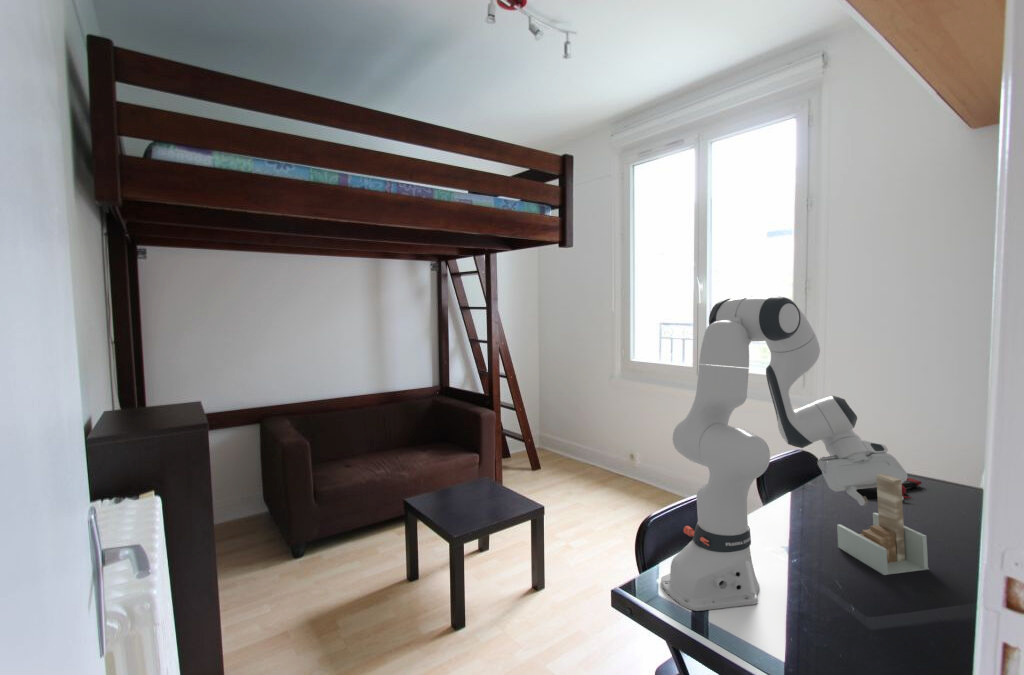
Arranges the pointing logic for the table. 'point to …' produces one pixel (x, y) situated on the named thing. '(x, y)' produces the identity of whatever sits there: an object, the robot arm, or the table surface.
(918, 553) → the offcut rack
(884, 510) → the birch board
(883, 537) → the offcut stack
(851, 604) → the table surface
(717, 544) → the robot arm
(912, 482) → the toy motorcycle
